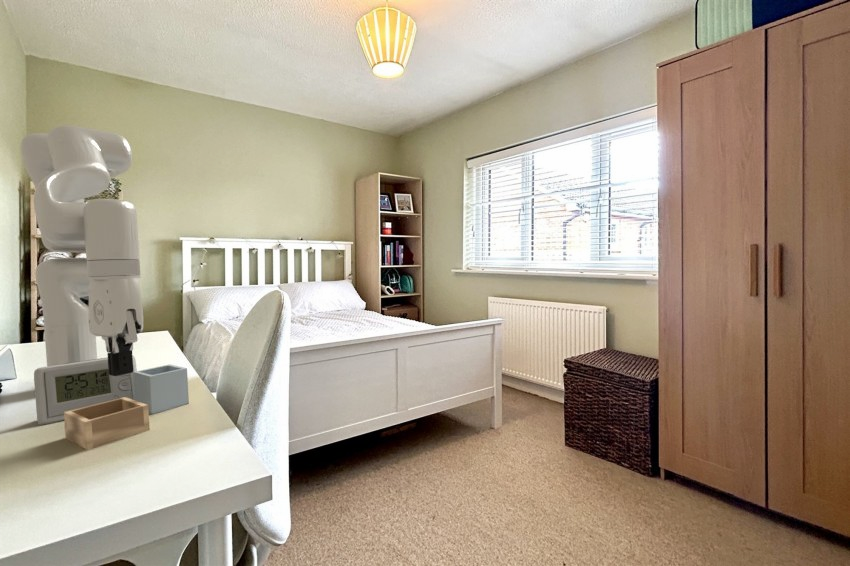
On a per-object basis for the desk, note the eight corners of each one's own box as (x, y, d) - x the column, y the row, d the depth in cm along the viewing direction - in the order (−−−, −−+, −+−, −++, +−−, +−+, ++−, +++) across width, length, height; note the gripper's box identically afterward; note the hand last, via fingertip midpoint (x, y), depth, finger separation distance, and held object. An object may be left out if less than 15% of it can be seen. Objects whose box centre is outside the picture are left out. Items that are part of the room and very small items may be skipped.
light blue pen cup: (135, 411, 85) (133, 371, 85) (171, 400, 91) (169, 364, 91) (152, 417, 81) (149, 376, 81) (189, 406, 87) (186, 368, 87)
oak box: (65, 441, 71) (63, 412, 71) (126, 423, 79) (124, 396, 78) (87, 453, 66) (85, 422, 66) (149, 433, 74) (148, 405, 73)
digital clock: (32, 430, 76) (28, 372, 76) (43, 415, 84) (39, 363, 83) (140, 411, 85) (137, 359, 84) (141, 399, 93) (138, 352, 92)
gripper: (70, 272, 75) (77, 374, 76) (109, 270, 67) (116, 384, 68) (118, 271, 81) (125, 365, 82) (159, 269, 73) (165, 373, 74)
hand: (121, 373), depth 75 cm, fingers closed
